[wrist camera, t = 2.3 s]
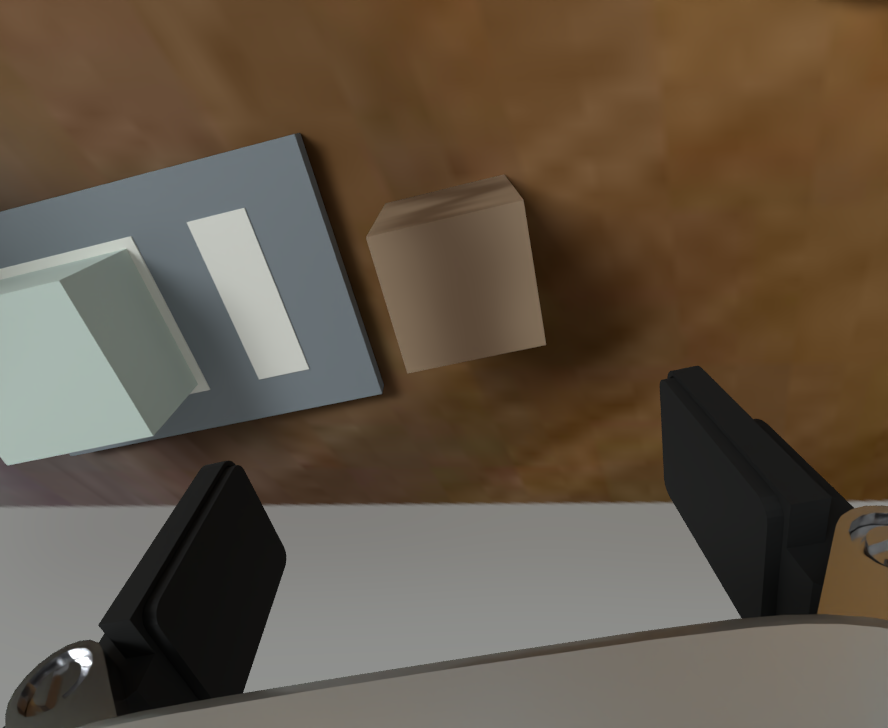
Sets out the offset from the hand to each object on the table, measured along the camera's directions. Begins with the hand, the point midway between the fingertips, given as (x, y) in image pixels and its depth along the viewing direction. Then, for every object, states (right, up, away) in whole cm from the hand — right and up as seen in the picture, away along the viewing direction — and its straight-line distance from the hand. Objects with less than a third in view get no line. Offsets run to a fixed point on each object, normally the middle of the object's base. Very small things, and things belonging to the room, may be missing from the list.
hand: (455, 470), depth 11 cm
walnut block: (0, +8, +15) cm, 17 cm away
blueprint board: (-15, +5, +17) cm, 23 cm away
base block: (-19, +4, +16) cm, 25 cm away
